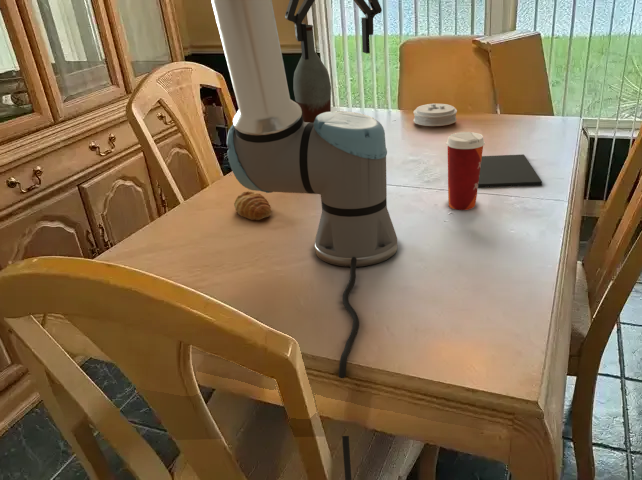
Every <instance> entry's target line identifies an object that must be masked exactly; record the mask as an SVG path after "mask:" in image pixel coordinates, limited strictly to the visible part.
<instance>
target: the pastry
mask: <svg viewBox="0 0 642 480" xmlns="http://www.w3.org/2000/svg"><path fill="white" fill-rule="evenodd" d="M233 206H234V208H235V211H236V213H237V214H238V215H239V216H241V217H244V218H245V219H248V220H251V221H252V220H256V221H260V220H262V219H265V218H268V217H271V214H272V213H273V211H272V208H271V205H270V203H269V200H267V198H265V196H264V195H262V194H261V193H257V192H256V193H255V192H254V191H250V190H248V191H244V192H242V193H240V194H239V195H238V196H237V197H236V198H235V199H234V203H233Z"/></svg>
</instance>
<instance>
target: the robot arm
mask: <svg viewBox="0 0 642 480" xmlns="http://www.w3.org/2000/svg"><path fill="white" fill-rule="evenodd" d="M210 1H211V6H212V9H213V14H214V17H215V22H216V25H217V28H218V29H217V30H218V33H219V36H220V40H221V44H222V48H223V52H224V56H225V60H226V64H227V69H228V72H229V77H230V80H231V84H232V88H233V92H234V96H235V100H236V104H237V108H238V109H237V111H236V113H235V114H234V115H233V118H232V125H230V128H229V129H228V132H227V136H226V146H227V147H228V150H227V152H226V153H227V159H228V163H229V166H230V169H231V171H232V174H233V175H234V177H235V179H236V180H237V182H238V183H239V184H240V185H241V186H242V187H244V188H246V189H248V190H249V191H250V190H251V191H257V192H261V193H266V194H271V193H285V194H286V193H287V194H289V193H290V194H310V195H320V201H321V202H320V203H321V214H320V218H319V223H318V226H317V229H316V235H315V239H314V249H315V251H314V252H315V254H316V257H318V258H319V260H322V261H323V262H325V263H327V264H329V265H333V266H338V267H345V268H346V267H347V268H348V267H349V268H350V272H349V273H350V274H349V280H348V284H347V285H346V287H345V289H344V290H343V291H344V292H343V293H342V303H343V306H344V308H345V310H346V311H347V313H348V314H349V315H350V317H351V319H352V327H351V331H350V333H349V335H348V337H347V340H346V343H345V345H344V348H343V351H342V353H341V356H340V359H339V364H338V378H339V379H345V378H346V374H347V363H348V359H349V355H350V353H351V350H352V348H353V345H354V342H355V340H356V337H357V334H358V332H359V329H360V318H359V315H358V313H357V311H356V310H355V309H354V307H353V306H352V305H351V303H350V300H349V299H350V294H351V292H352V290H353V288H354V286H355V283H356V278H357V277H356V276H357V268H358V267H367V266H373V265H376V264H379V263H383V262H384V261H387V260H388V259H390V258H392V257H393V256H394V255H395V254H396V253H397V251H398V236H397V233H396V230H395V227H394V225H393V221H392V218H391V215H390V212H389V210H388V202H387V198H388V197H387V195H388V194H387V191H388V190H387V189H388V188H387V187H388V186H387V156H388V150H387V146H386V132H385V128H384V126H383V125H382V123H381V122H380V121H379V120H377V119H375V118H374V117H372V116H370V115H367V114H365V113H359V112H354V111H345V110H337V111H331V112H324V113H321V114H319V115H318V116H317V117H316V118H315V121H314V123H310V122H304V121H303V116H302V111H301V108H300V106H299V105H298V104H297V103H296V101H295V100H293V99H291V95H290V91H289V86H288V80H287V74H286V69H285V63H284V59H283V54H282V49H281V48H282V47H281V43H280V37H279V33H278V32H279V31H278V27H277V21H276V18H275V17H276V15H275V11H274V6H273V1H272V0H210ZM299 1H300V0H288V3H287V7H286V11H285V14H284V19H285V20H286V21H289V22H292V23H293V24H294V31H295V32H294V33H295V40H296V41H297V42H300V48H301V49H300V50H301V56H302V58H303V59H305V60H307V59H309V56H308V43H307V31H306V25H307V24H306V23H305V22H304V20H305V18H306V16H307V14H308V13H309V11H310V9H311V8H312V7H313V4H314V3H315V2H316V0H303V1H302V3H301V5H300V6H299V8H298V5H299ZM367 1H368V3H367ZM367 1H365V0H353V2H354V3H355V4H356V5H357V7H358V8H359V10H360V11H361V12H362V14H363V17H361V44H362V45H361V47H362V53H364V54H371V49H370V48H371V45H370V43H371V42H370V36H372V35H374V18H375V16H377V15H379V14H381V13H382V11H383V8H382V5H381V4H380V2H379V0H367ZM368 4H369V5H370V6H369V5H368ZM297 9H298V10H297ZM341 440H342V454H343V456H342V457H343V468H344V480H353V479H352V465H351V451H350V450H351V449H350V436H349V435H342V436H341Z"/></svg>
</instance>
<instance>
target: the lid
mask: <svg viewBox="0 0 642 480" xmlns="http://www.w3.org/2000/svg"><path fill="white" fill-rule="evenodd" d="M457 113H458V110H457V108H456V107H455V106H453V105H451V104H447V103H427V104H422V105H419V106H417V107H416V108H415V109H414V110H413V115H414V117H413V123H414V124H416V125H419V126H424V127H442V126H448V125H452V124H455V123H456V122H457Z"/></svg>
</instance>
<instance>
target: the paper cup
mask: <svg viewBox="0 0 642 480" xmlns="http://www.w3.org/2000/svg"><path fill="white" fill-rule="evenodd" d="M445 145H446V146H447V193H448V194H447V195H448V196H447V197H448V207H449V208H450V209H453V210H457V211H468V210H472V209H473V208H475V207H476V203H477V196H478V191H479V187H478V182H479V175H480V167H481V159H482V156H483V151H484V146H485V145H486V141H485V140H484V136H483V134H481V133H479V132H473V131H458V132H454V133H452V134H449V135H448V138H447V141H445Z"/></svg>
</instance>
